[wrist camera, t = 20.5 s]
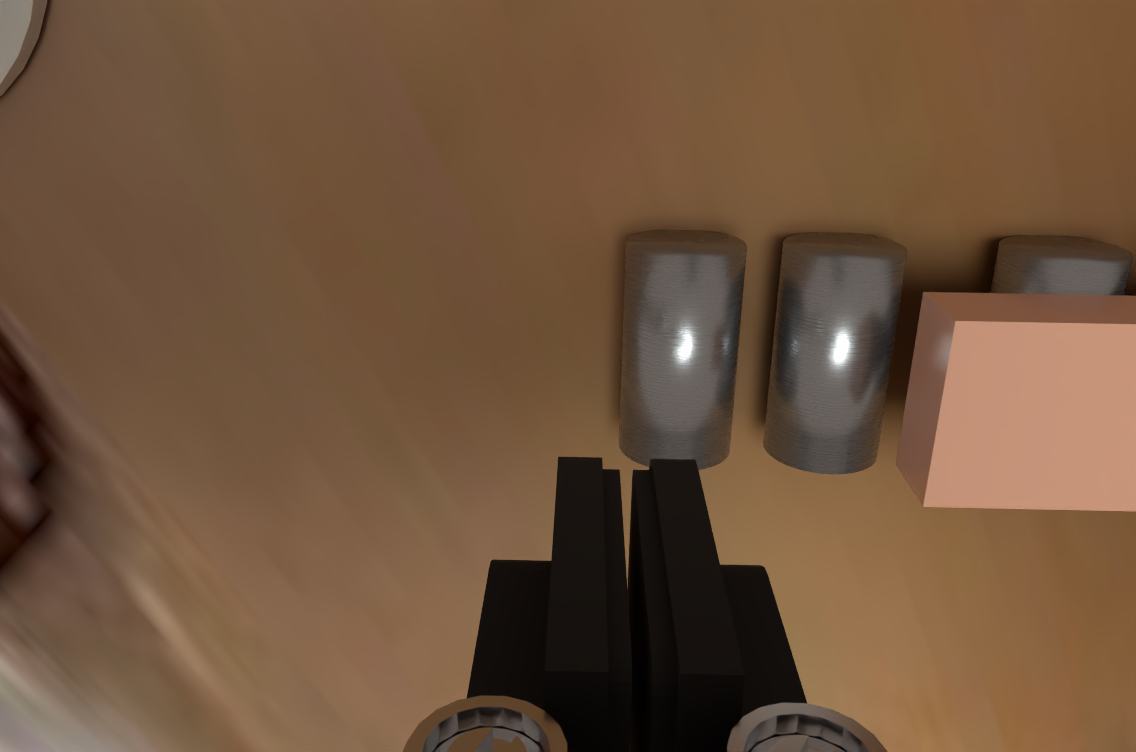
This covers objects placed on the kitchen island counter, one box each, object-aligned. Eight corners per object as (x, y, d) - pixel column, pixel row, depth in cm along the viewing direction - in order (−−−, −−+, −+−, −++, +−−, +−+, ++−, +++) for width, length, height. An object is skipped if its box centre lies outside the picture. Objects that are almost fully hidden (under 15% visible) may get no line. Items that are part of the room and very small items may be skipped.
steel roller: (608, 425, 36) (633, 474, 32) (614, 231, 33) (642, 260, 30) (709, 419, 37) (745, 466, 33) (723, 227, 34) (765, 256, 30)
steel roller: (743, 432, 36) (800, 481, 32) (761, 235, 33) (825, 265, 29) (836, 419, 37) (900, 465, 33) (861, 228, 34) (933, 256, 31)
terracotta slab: (895, 464, 32) (923, 506, 29) (923, 292, 30) (955, 320, 27) (1198, 470, 32) (1252, 513, 29) (1249, 297, 29) (1312, 327, 27)
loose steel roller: (940, 435, 36) (1017, 484, 32) (973, 239, 33) (1061, 269, 29) (1027, 422, 37) (1111, 468, 33) (1066, 231, 34) (1162, 259, 30)
